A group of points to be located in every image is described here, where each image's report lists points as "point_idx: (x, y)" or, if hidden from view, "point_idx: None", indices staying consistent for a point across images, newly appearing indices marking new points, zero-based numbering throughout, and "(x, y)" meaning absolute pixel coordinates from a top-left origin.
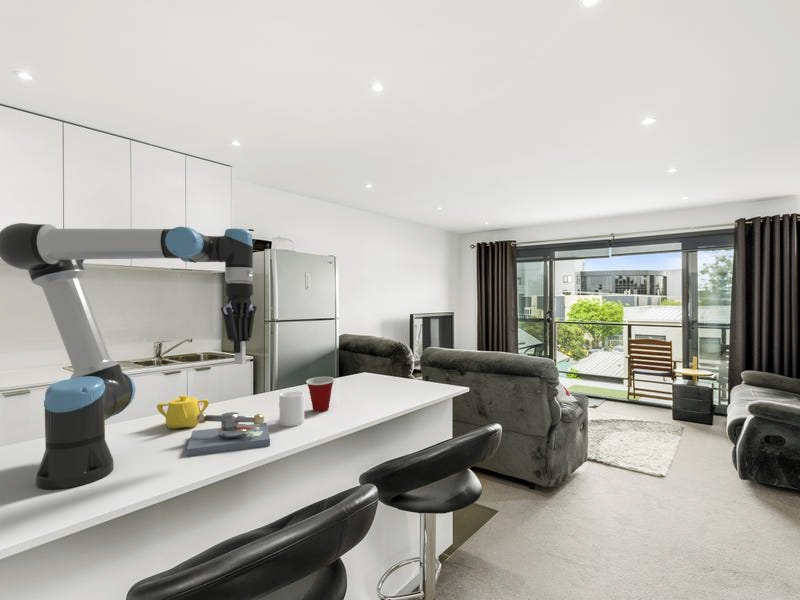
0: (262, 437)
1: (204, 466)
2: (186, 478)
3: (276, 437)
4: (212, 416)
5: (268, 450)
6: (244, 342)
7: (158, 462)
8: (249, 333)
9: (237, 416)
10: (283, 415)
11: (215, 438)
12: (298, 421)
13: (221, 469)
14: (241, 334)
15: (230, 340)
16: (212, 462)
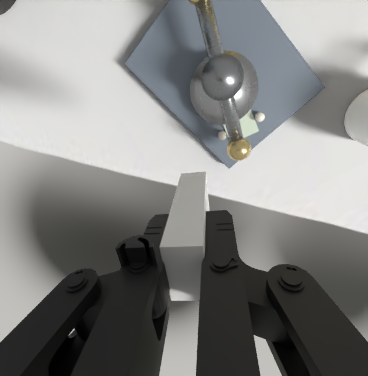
0: None
1: (119, 133)
2: (83, 144)
3: (269, 146)
4: (204, 28)
5: (209, 175)
6: (198, 293)
7: (86, 40)
8: (283, 364)
9: (224, 102)
10: (359, 115)
11: (191, 65)
12: (359, 142)
13: (125, 164)
14: (157, 360)
15: (121, 246)
16: (135, 132)
